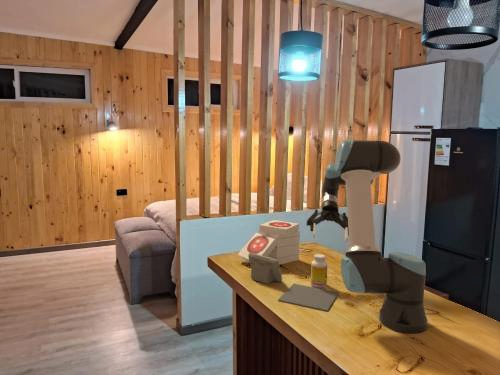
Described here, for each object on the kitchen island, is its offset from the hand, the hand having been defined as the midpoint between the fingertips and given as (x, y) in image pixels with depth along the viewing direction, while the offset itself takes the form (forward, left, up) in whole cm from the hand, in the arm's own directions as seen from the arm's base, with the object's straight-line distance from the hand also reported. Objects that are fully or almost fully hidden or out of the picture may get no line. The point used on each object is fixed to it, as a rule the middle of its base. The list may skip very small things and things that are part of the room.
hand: (330, 237), depth 157 cm
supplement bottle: (0, +5, -20) cm, 21 cm away
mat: (-8, +15, -20) cm, 26 cm away
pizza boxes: (+37, +9, -20) cm, 43 cm away
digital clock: (+15, +22, -20) cm, 34 cm away
